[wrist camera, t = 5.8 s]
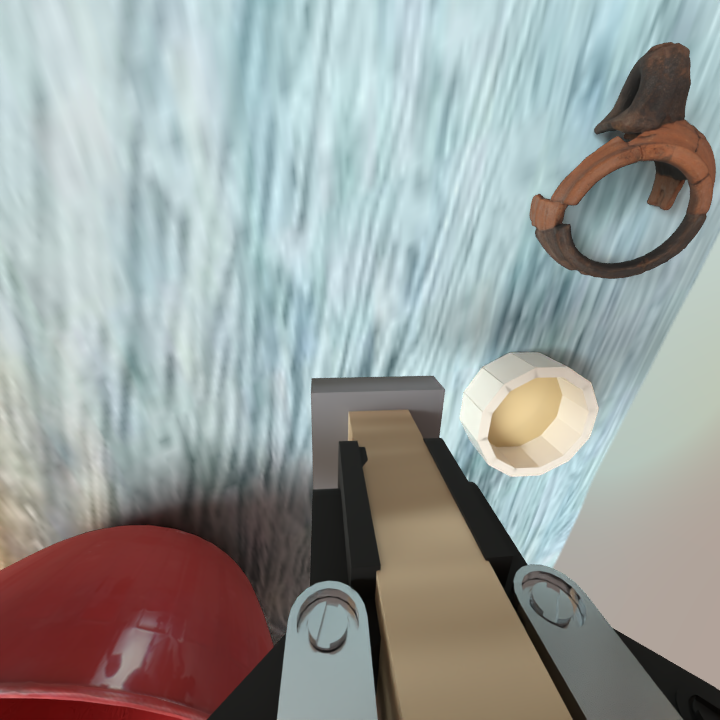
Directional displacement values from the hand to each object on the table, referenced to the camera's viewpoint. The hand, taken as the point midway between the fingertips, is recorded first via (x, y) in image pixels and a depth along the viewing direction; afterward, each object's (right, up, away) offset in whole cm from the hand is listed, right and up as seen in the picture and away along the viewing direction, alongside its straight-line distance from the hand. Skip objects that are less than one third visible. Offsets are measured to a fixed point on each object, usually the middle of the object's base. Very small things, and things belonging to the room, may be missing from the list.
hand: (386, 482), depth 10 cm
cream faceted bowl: (+13, 0, +19) cm, 23 cm away
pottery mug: (+17, +18, +14) cm, 28 cm away
